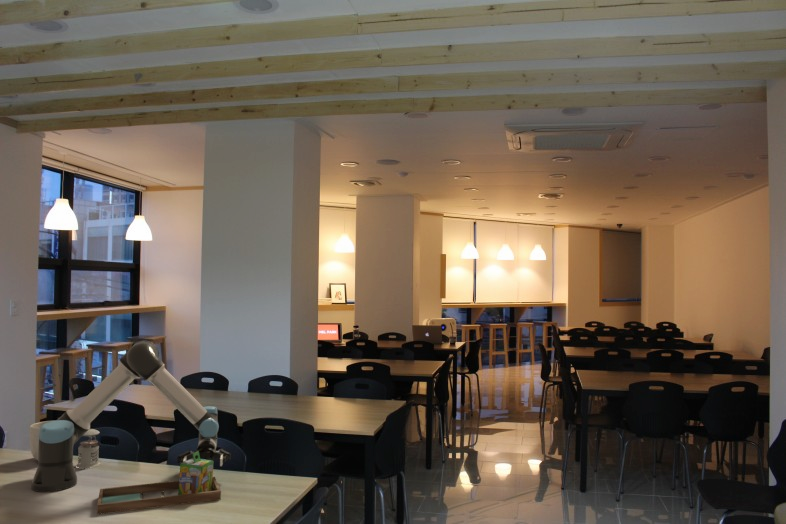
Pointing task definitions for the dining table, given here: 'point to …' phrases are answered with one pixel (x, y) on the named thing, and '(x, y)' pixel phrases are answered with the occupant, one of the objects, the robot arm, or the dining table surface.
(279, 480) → the dining table surface
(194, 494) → the brown wooden tray
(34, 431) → the planter
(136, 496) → the mat
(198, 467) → the chalk box
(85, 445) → the french press
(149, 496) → the mats
